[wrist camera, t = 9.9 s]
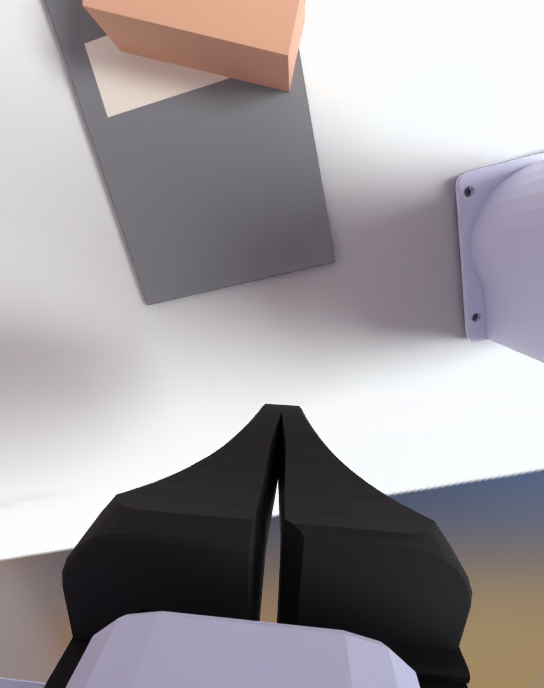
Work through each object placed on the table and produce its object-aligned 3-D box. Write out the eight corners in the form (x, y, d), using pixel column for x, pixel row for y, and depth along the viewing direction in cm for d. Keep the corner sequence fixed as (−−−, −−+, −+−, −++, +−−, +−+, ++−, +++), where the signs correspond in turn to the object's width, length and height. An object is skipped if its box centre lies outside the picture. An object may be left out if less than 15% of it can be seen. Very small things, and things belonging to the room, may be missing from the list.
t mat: (334, 261, 18) (335, 261, 18) (150, 304, 20) (147, 305, 20) (254, -201, 13) (253, -216, 13) (16, -97, 15) (9, -106, 14)
